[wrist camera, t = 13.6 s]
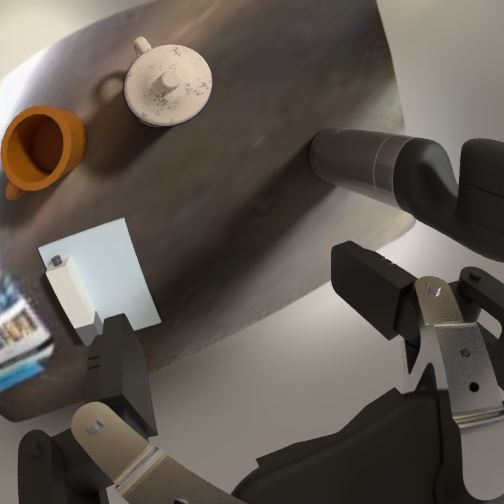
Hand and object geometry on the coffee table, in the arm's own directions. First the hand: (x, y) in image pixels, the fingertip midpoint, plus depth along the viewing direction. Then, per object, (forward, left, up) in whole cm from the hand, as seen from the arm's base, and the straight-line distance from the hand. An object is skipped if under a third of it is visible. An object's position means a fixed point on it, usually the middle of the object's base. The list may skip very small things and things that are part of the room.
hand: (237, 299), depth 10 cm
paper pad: (+14, +13, -30) cm, 35 cm away
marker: (+18, +13, -29) cm, 37 cm away
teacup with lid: (-1, -12, -30) cm, 32 cm away
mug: (+15, -8, -30) cm, 34 cm away
